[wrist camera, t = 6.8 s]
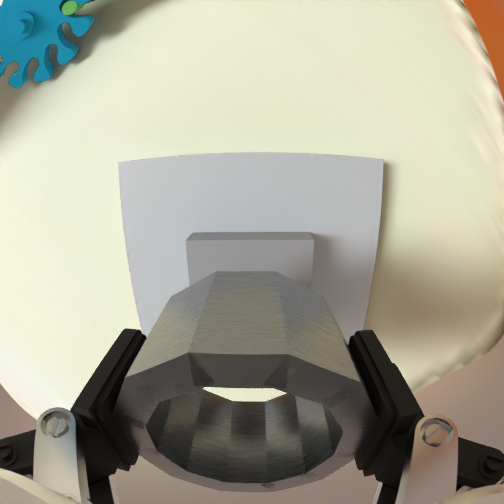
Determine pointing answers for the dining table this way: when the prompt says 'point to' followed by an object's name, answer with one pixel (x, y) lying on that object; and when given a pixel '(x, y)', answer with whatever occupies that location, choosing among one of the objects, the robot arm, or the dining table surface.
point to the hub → (246, 376)
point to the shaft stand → (253, 225)
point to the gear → (38, 34)
